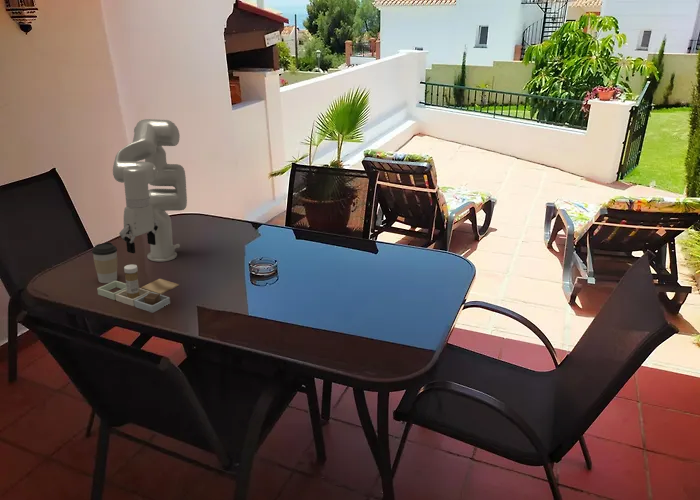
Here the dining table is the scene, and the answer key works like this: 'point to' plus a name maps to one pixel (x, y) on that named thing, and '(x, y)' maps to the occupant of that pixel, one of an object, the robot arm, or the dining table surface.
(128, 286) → the sprinkles bottle
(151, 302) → the walnut cube
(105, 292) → the tray sage
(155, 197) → the robot arm
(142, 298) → the tray blue
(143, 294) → the tray cream
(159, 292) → the coaster
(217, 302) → the dining table surface
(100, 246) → the coffee cup
